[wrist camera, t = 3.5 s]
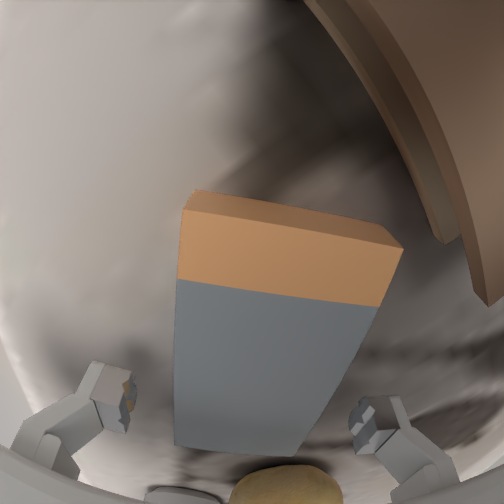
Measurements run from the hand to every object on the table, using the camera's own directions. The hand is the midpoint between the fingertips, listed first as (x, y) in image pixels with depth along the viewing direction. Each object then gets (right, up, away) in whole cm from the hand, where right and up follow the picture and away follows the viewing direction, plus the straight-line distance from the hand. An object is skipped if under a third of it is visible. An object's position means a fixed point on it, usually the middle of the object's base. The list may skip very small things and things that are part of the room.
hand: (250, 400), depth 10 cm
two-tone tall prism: (0, +1, +2) cm, 3 cm away
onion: (+2, -11, +8) cm, 14 cm away
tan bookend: (+8, +12, -3) cm, 14 cm away
